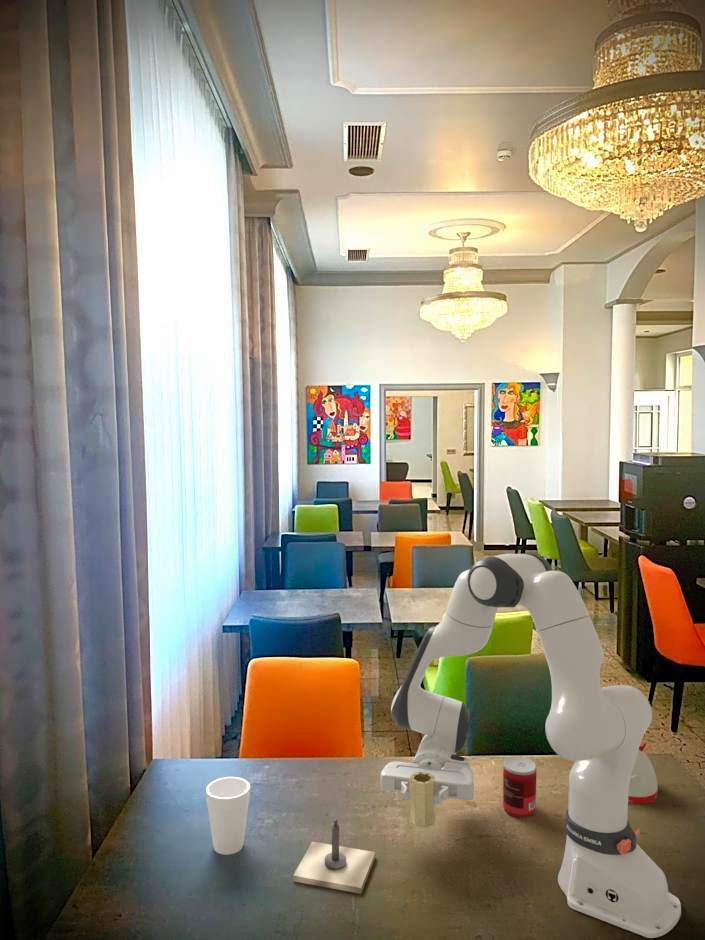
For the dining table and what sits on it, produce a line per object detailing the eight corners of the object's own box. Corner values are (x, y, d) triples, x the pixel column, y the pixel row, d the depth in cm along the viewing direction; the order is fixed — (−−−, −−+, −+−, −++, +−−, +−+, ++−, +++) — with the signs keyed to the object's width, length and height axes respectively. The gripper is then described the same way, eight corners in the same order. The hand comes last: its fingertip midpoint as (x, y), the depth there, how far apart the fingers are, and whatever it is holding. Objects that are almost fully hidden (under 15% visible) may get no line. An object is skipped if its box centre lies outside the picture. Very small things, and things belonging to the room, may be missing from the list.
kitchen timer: (602, 771, 187) (603, 715, 186) (658, 782, 181) (660, 725, 180) (595, 795, 174) (597, 736, 173) (655, 809, 168) (658, 747, 167)
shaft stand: (375, 857, 148) (375, 809, 148) (361, 893, 137) (361, 842, 136) (312, 846, 152) (312, 800, 151) (293, 881, 140) (293, 830, 140)
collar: (436, 815, 149) (435, 773, 148) (432, 828, 144) (432, 785, 143) (412, 812, 150) (412, 771, 150) (408, 824, 145) (408, 782, 145)
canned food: (532, 801, 171) (533, 757, 171) (538, 819, 163) (539, 773, 163) (500, 799, 172) (501, 755, 171) (504, 817, 164) (505, 771, 163)
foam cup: (197, 850, 150) (196, 791, 150) (224, 829, 159) (224, 773, 158) (232, 864, 146) (232, 803, 145) (259, 840, 154) (258, 783, 153)
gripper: (386, 750, 162) (372, 778, 148) (476, 759, 156) (470, 789, 143) (386, 777, 162) (373, 807, 149) (476, 787, 157) (470, 819, 143)
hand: (421, 798), depth 146 cm, fingers closed on collar, 5 cm apart
